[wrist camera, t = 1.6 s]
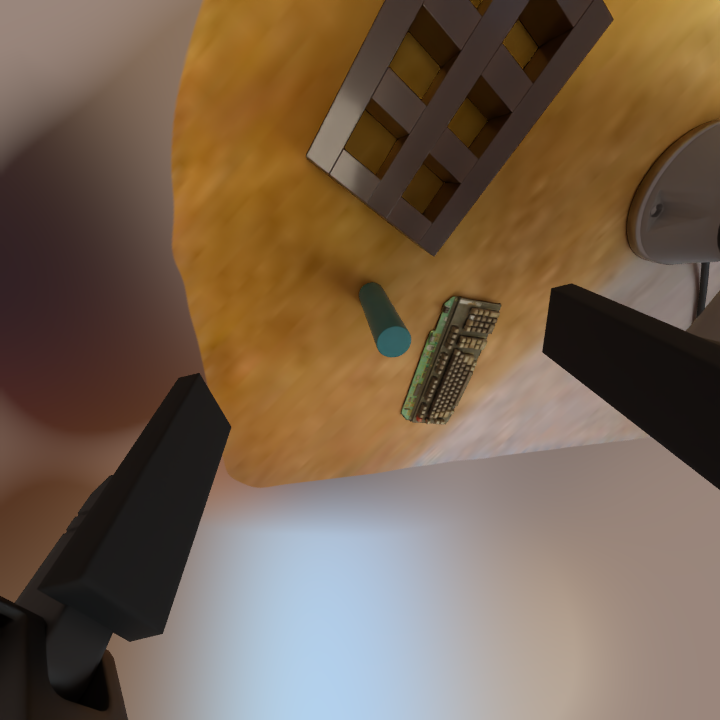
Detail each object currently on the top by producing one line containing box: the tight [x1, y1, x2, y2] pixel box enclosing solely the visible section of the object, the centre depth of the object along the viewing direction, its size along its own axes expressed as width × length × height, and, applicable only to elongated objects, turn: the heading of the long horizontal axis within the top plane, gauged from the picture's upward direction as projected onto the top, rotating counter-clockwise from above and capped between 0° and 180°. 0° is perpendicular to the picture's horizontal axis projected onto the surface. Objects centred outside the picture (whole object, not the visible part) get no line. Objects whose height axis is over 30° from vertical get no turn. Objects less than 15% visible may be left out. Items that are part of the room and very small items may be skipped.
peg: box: [359, 282, 411, 357], centre depth 33 cm, size 3×3×13 cm
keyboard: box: [401, 296, 501, 424], centre depth 45 cm, size 22×9×2 cm, turn 167°
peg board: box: [306, 0, 613, 256], centre depth 27 cm, size 16×22×4 cm
